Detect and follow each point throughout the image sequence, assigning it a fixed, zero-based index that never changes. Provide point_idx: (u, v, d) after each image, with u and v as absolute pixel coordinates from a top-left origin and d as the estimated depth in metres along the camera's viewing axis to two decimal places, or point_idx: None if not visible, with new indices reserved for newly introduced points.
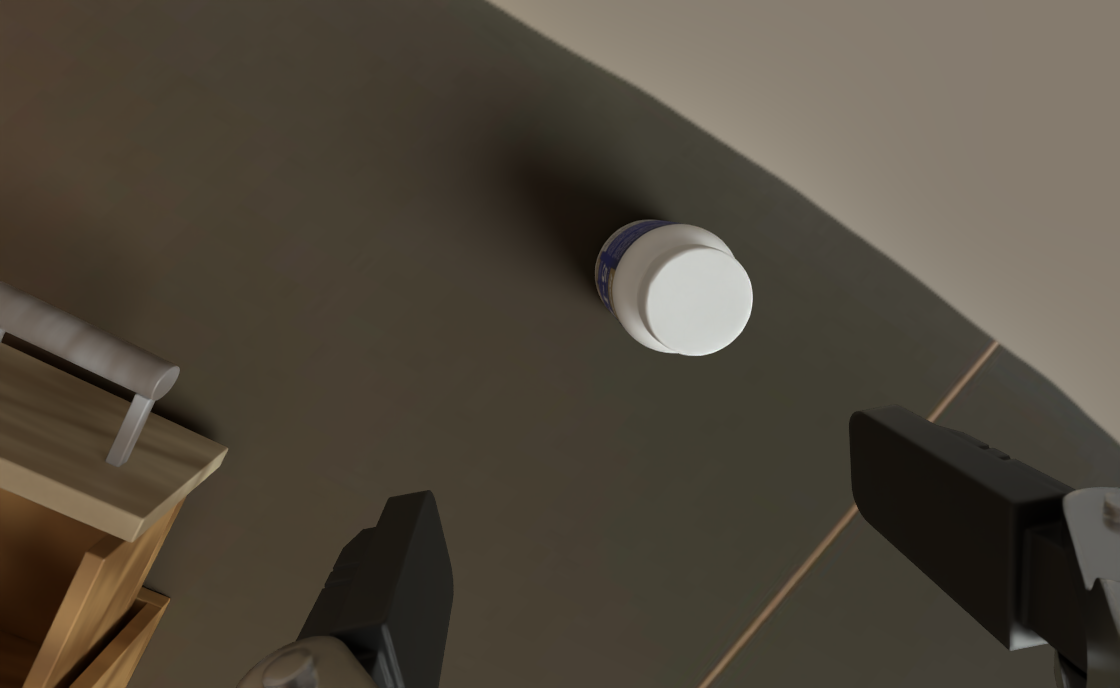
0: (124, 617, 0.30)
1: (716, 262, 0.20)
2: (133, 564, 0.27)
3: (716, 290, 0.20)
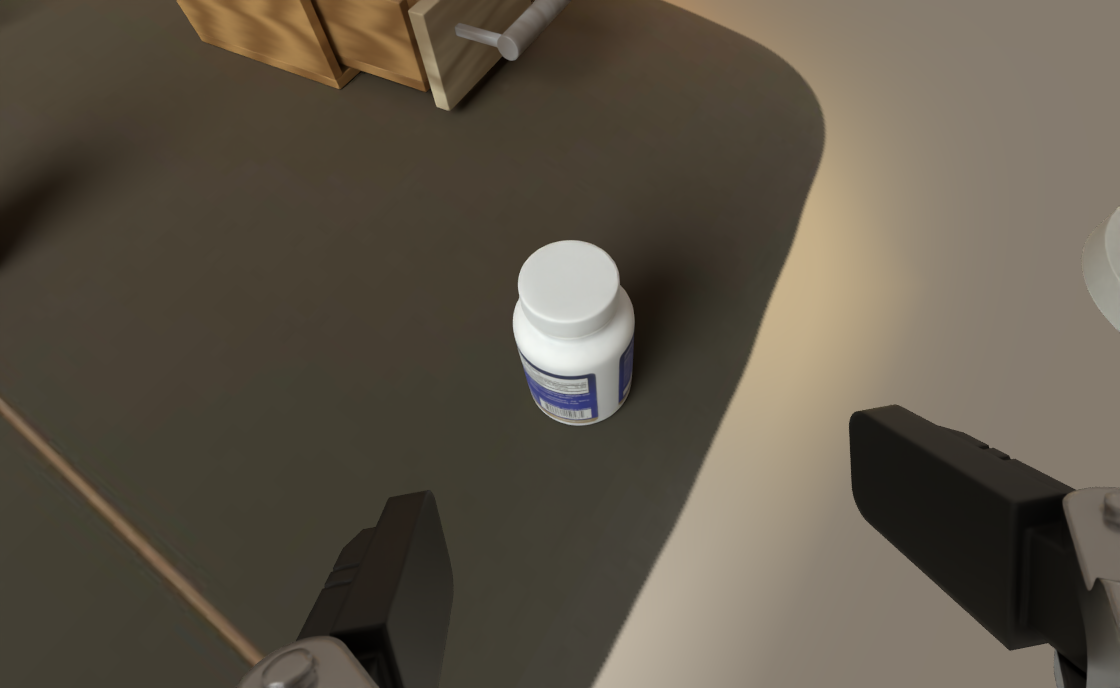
0: (336, 59, 0.43)
1: (606, 287, 0.22)
2: (381, 45, 0.39)
3: (579, 291, 0.22)
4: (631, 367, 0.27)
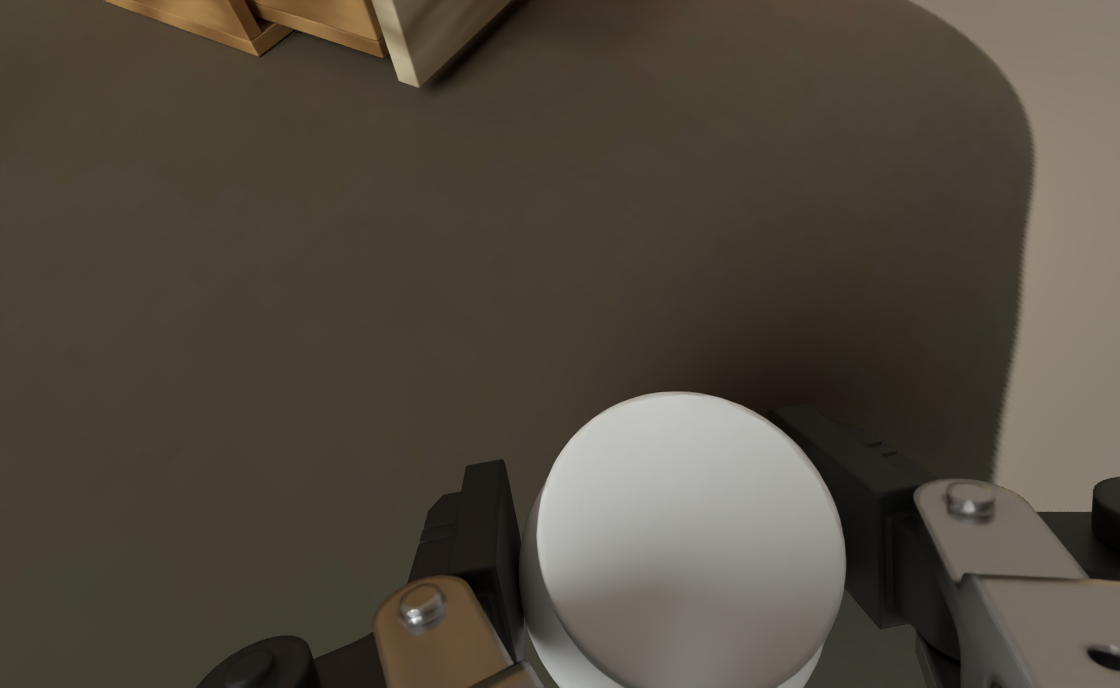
0: (252, 9, 0.29)
1: (810, 567, 0.07)
2: None
3: (729, 576, 0.07)
4: None
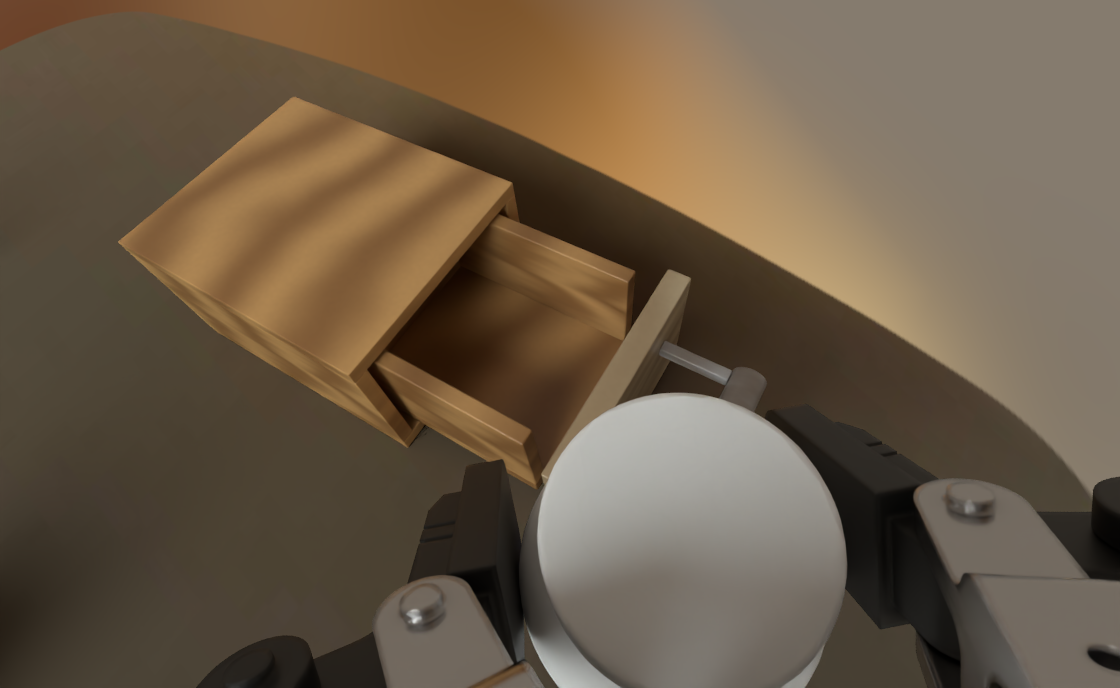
0: (405, 412, 0.31)
1: (810, 568, 0.07)
2: (479, 442, 0.27)
3: (729, 577, 0.07)
4: None
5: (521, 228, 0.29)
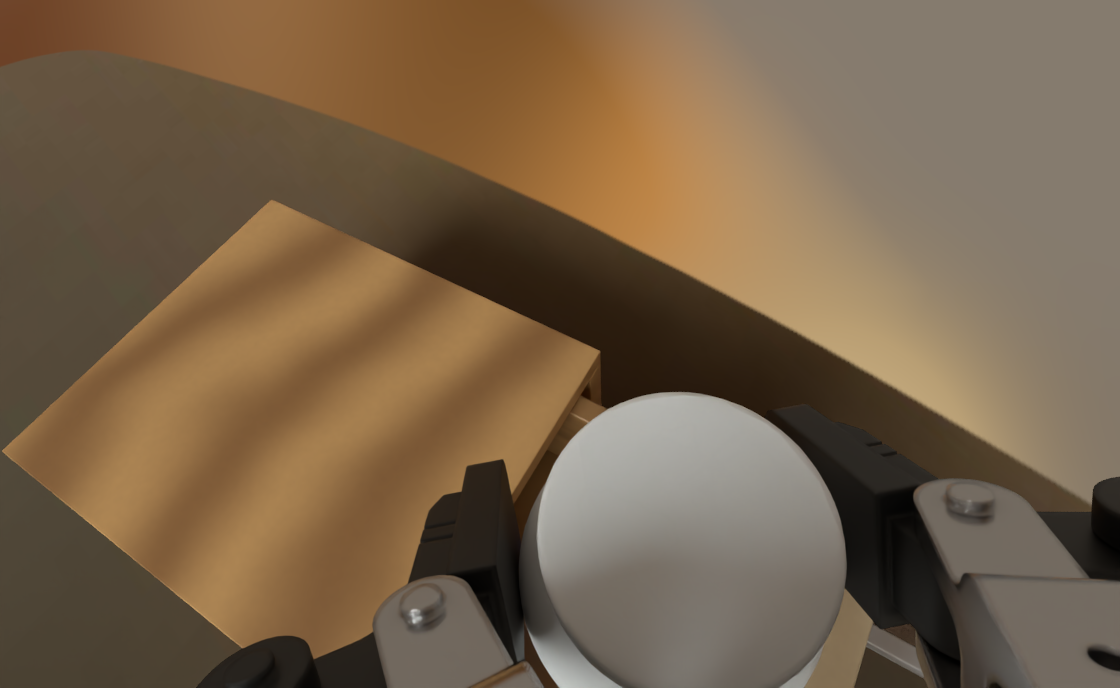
0: None
1: (810, 567, 0.07)
2: None
3: (729, 577, 0.07)
4: None
5: None
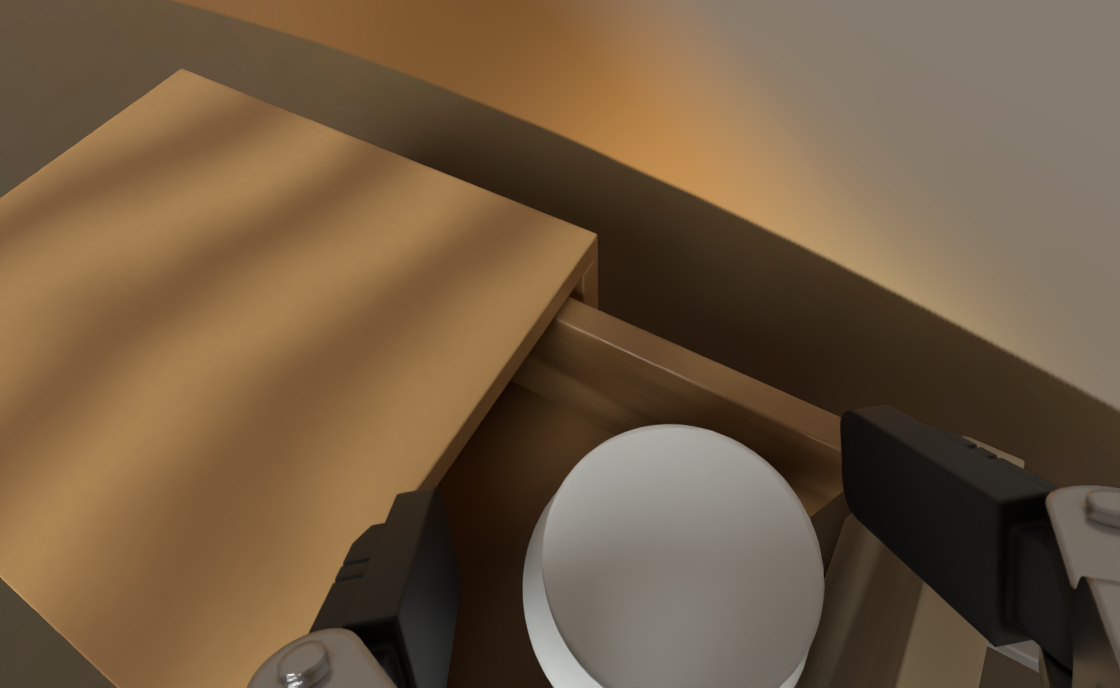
0: None
1: (791, 590, 0.08)
2: None
3: (717, 598, 0.08)
4: None
5: (616, 328, 0.14)
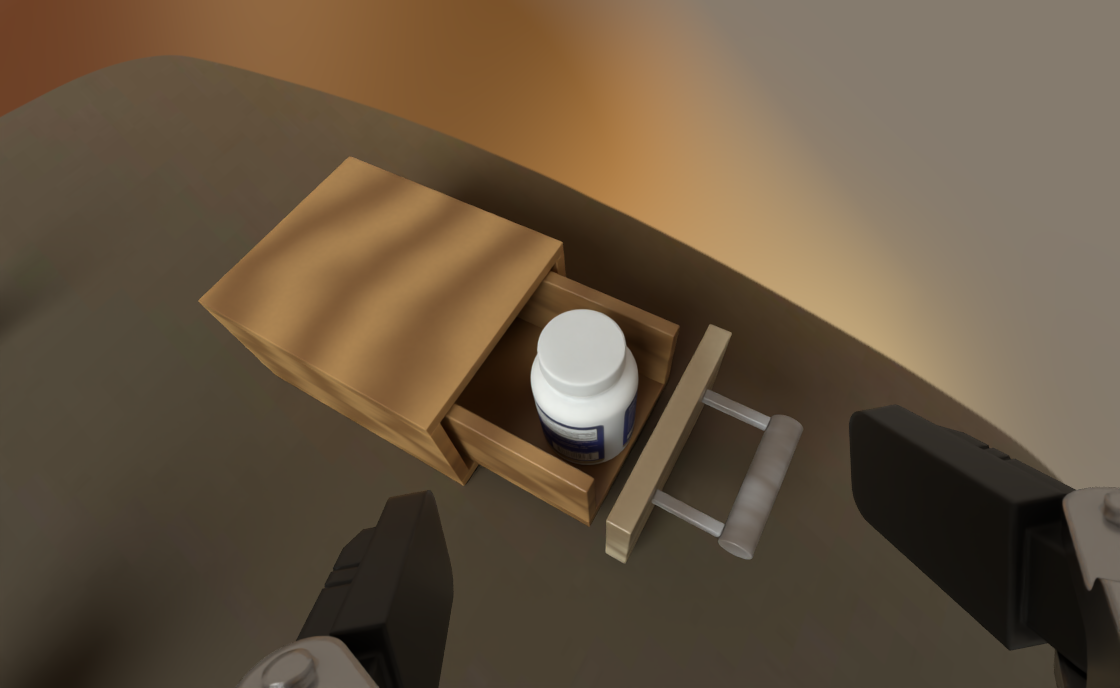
0: (462, 453, 0.33)
1: (614, 353, 0.25)
2: (538, 485, 0.29)
3: (591, 356, 0.25)
4: (634, 415, 0.30)
5: (571, 284, 0.31)
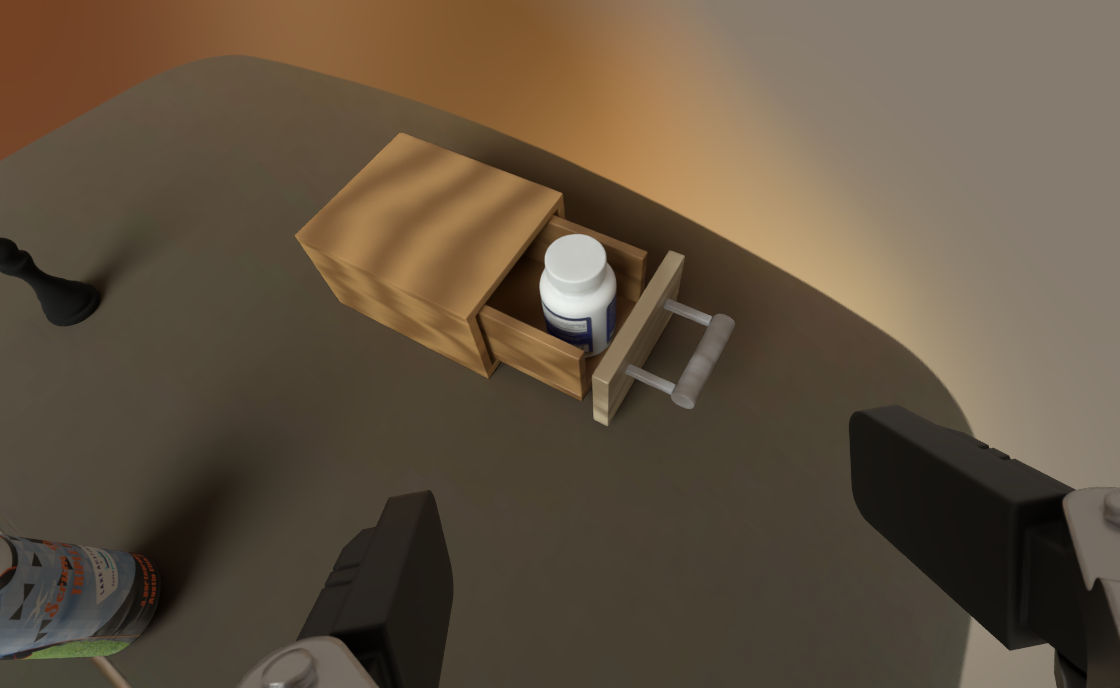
0: None
1: (598, 262, 0.36)
2: (544, 367, 0.41)
3: (582, 264, 0.36)
4: (615, 318, 0.41)
5: (569, 224, 0.43)
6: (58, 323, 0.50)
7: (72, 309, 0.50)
